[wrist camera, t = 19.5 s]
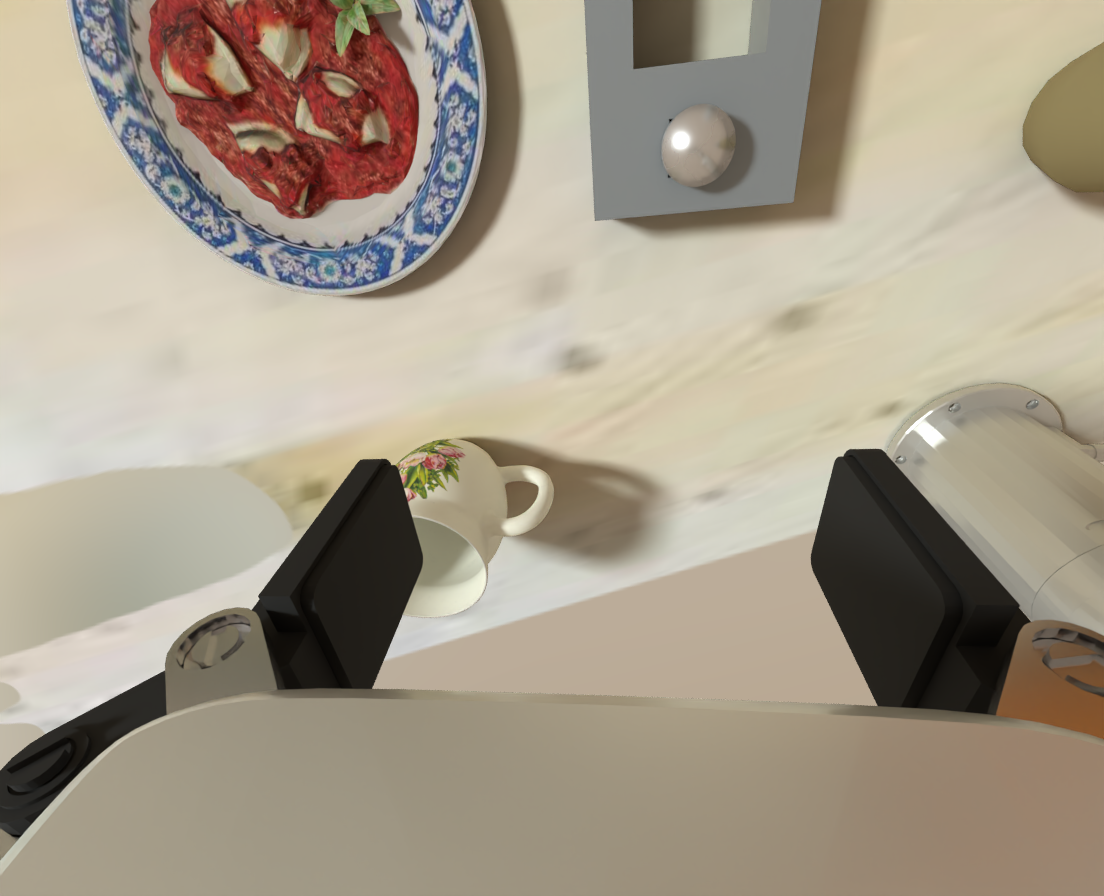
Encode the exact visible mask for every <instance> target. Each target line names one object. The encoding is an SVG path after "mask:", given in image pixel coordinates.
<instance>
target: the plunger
mask: <svg viewBox="0 0 1104 896" xmlns="http://www.w3.org/2000/svg"><path fill="white" fill-rule="evenodd" d="M735 144H736V135H735V129H734V126H733V123H732V121H731V119H730V117H729V116H728V115H727V114H726V113H725V112H724V111H723V110H722V109H720V108H719V107H717V106H714V105H711V104H699V105H694V106H691V107H688V108H686V109H684V110H683V111H681V112H680V113H678V114H677V115H676V116H675V117H674V118H673V119H672V120H671V122H670V123H669V125H668V126H667V128H666V130H665V132H664V135H663V138H662V142H661V160H662V164H663V166H664V169H665V170H666V172H667V174H668V175H669V176H670V177H671V178H672V179H673V180H675V181H676V182H678V183H679V184H682V185H684V186H688V187H699V186H703V185H706V184H709V183H711V182H712V181H714V180H715V179H717V178H718V177H719V176H720V175H721V174H722V173H723V172H724V171H725V169H726V168H727V167H728V165H729V163H730V161H731V159H732V157H733V154H734V150H735Z"/></svg>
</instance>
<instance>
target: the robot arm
mask: <svg viewBox="0 0 1104 896" xmlns="http://www.w3.org/2000/svg"><path fill="white" fill-rule="evenodd" d="M1062 428H1063V426H1062V422H1061V418H1060V415H1059V413H1058V412H1057V410H1056V409H1055V407H1054V405H1052V404H1051V403H1050V402H1049V401H1048V400H1046V399H1045V398H1044V397H1042V396H1041V395H1039V394H1037V393H1035V392H1034V391H1032V390H1030V389H1027V388H1024V387H1021V386H1018V385H1012V384H1004V383H995V384H982V385H977V386H972V387H967V388H964V389H961V390H958V391H955V392H952V393H949V394H947V395H945V396H943V397H941V398H939V399H937V400H935V401H933V402H931V403H930V404H928V405H927V406H925V407H924V408H922V409H921V410H919V411H918V412H917V413H916V414H915V415H913V416H912V417H911V418H910V419H909V420H908V421H907V422H906V423H905V424H904V425H903V426H902V427H901V429H900V430H899V431H898V432H897V433H896V435H895V436H894V438H893V440H892V441H891V443H890V445H889V447H888V450H887V453H885V452H884V451H883V450H881V449H850V450H848V451H846V453H845V454H844V457H838V458H837V459H836V460H835V463H834V466H833V470H832V474H831V478H830V482H829V486H828V490H827V494H826V498H825V501H824V505H823V509H822V513H821V517H820V521H819V525H818V529H817V533H816V537H815V541H814V545H813V549H812V553H811V565H812V569H813V572H814V574H815V576H816V578H817V580H818V582H819V584H820V586H821V589H822V591H823V593H824V595H825V597H826V599H827V601H828V603H829V605H830V607H831V610H832V611H833V614H834V616H835V618H836V620H837V622H838V624H839V626H840V628H841V630H842V632H843V634H844V637H845V639H846V641H847V643H848V645H849V647H850V649H851V651H852V653H853V655H854V657H855V660H856V662H857V664H858V666H859V668H860V670H861V672H862V674H863V676H864V678H865V680H866V682H867V684H868V687H869V689H870V691H871V693H872V695H873V697H874V699H875V701H876V703H877V705H878V706H862V705H845V704H822V703H797V702H770V701H745V700H720V699H694V698H664V697H635V696H607V695H576V694H546V693H545V694H544V693H513V692H477V691H442V690H406V689H405V690H404V689H372V687H373V685H374V682H375V680H376V677H377V675H378V673H379V670H380V668H381V665H382V663H383V661H384V658H385V656H386V654H387V651H388V649H389V646H390V644H391V642H392V639H393V637H394V634H395V632H396V630H397V627H398V625H399V622H400V620H401V618H402V615H403V613H404V610H405V608H406V606H407V603H408V601H409V598H410V596H411V594H412V591H413V589H414V586H415V584H416V582H417V579H418V577H419V574H420V572H421V569H422V566H423V553H422V549H421V546H420V542H419V539H418V535H417V532H416V528H415V525H414V521H413V518H412V514H411V511H410V507H409V504H408V500H407V497H406V493H405V490H404V486H403V483H402V479H401V476H400V472H399V470H398V468H397V466H395V465H391V463H390V462H389V461H388V460H387V459H363V460H360V461H359V462H358V463H357V464H356V466H355V467H354V468H353V470H352V471H351V472H350V474H349V475H348V476H347V478H346V479H345V480H344V482H343V483H342V484H341V486H340V487H339V488H338V490H337V491H336V492H335V494H334V495H333V496H332V498H331V499H330V500H329V502H328V503H327V504H326V506H325V507H324V509H323V510H322V511H321V513H320V514H319V515H318V517H317V518H316V519H315V521H314V522H313V523H312V525H311V526H310V527H309V529H308V530H307V531H306V533H305V534H304V535H303V537H302V538H301V539H300V541H299V542H298V543H297V545H296V546H295V547H294V549H293V550H292V551H291V553H290V554H289V555H288V557H287V558H286V559H285V561H284V562H283V563H282V565H281V566H280V568H279V569H278V570H277V572H276V573H275V574H274V576H273V577H272V578H271V580H270V581H269V582H268V584H267V585H266V586H265V588H264V589H263V590H262V592H261V593H260V594H259V596H258V597H259V599H260V600H259V601H258V602H257V604H256V605H255V606H254V608H253V609H252V610H250V609H248V608H239V607H237V608H230V609H224V610H222V611H219V612H216V613H213V614H210V615H209V616H207V617H205V618H203V619H201V620H199V621H198V622H196V623H195V624H193V625H192V626H191V627H189V628H188V629H187V630H186V631H184V632H183V633H182V634H181V635H180V636H179V638H178V639H177V640H176V641H175V642H174V643H173V645H172V646H171V648H170V650H169V651H168V653H167V657H166V662H165V671H163V672H161V673H159V674H157V675H156V676H154V677H152V678H150V679H148V680H146V681H144V682H142V683H141V684H139V685H137V686H135V687H133V688H131V689H129V690H127V691H125V692H124V693H122V694H120V695H118V696H116V697H114V698H112V699H110V700H109V701H107V702H105V703H103V704H101V705H99V706H97V707H95V708H93V709H92V710H90V711H88V712H86V713H84V714H82V715H80V716H78V717H77V718H75V719H73V720H71V721H69V722H67V723H65V724H63V725H61V726H60V727H58V728H56V729H54V730H52V731H50V732H48V733H47V734H45V735H43V736H42V737H40V738H39V739H37V740H35V741H34V742H32V743H30V744H29V745H28V746H27V747H25V748H24V749H23V750H22V751H20V752H19V753H18V754H17V755H15V756H14V757H13V758H12V759H11V760H10V761H9V762H8V763H7V764H6V765H5V766H4V767H3V768H2V770H1V771H0V896H1104V465H1103V464H1101V463H1100V462H1099V461H1104V443H1103V444H1087V445H1081V444H1080V443H1078V442H1077V441H1075V440H1074V439H1072V438H1071V437H1069V436H1067V435H1066V434H1064V433H1063V432H1062ZM1020 609H1021V610H1022V611H1023V612H1024V613H1025V614H1026V615H1025V614H1024V613H1023V612H1022V611H1021V610H1020ZM1027 617H1028V618H1029V619H1030V620H1031V621H1032V622H1031V621H1030V620H1029V619H1028V618H1027Z"/></svg>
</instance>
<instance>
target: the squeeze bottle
mask: <svg viewBox="0 0 1104 896" xmlns="http://www.w3.org/2000/svg"><path fill="white" fill-rule="evenodd" d="M1023 147H1024V149H1025V151H1026V152H1027V154H1028V156H1029V158H1030V160H1031V161H1032V162H1033V163H1034V164H1036V165H1037V166H1038V167H1039V168H1040V169H1041V170H1042V171H1044V172H1045V173H1046V174H1047V175H1048V176H1049V177H1050V178H1052V179H1053V180H1054V181H1055V182H1057V183H1059V184H1061V185H1063V186H1065V187H1067V188H1069V189H1071V190H1073V191H1075V192H1104V42H1103V43H1101V44H1100V45H1098V46H1097V47H1095V48H1093V49H1092V50H1090V51H1088V52H1087V53H1085V54H1083V55H1082V56H1080V57H1079V58H1077V59H1075V60H1074V61H1072V62H1071V63H1069V64H1068V65H1067V66H1066V67H1064V68H1063V69H1062V70H1061V71H1059V72H1058V73H1057V74H1056V75H1055V76H1053V77H1052V78H1051V79H1050V80H1048V82H1047V83H1046V84H1045V86H1044V87H1043V88H1042V90H1041V91H1040V92H1039V94H1038V95H1037V96H1036V98H1035V99H1034V100H1033V102H1032V104H1031V106H1030V109H1029V111H1028V114H1027V117H1026V119H1025V122H1024V124H1023Z"/></svg>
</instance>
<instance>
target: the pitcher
mask: <svg viewBox="0 0 1104 896" xmlns="http://www.w3.org/2000/svg"><path fill="white" fill-rule="evenodd" d="M395 466H397V468H398V470H399V472H400V476H401V479H402V483H403V486H404V490H405V493H406V497H407V500H408V504H409V507H410V511H411V514H412V518H413V521H414V525H415V528H416V532H417V535H418V539H419V542H420V546H421V549H422V553H423V566H422V569H421V572H420V574H419V577H418V579H417V582H416V584H415V586H414V589H413V591H412V594H411V596H410V598H409V601H408V603H407V606H406V608H405V610H404V613H403V615H405V616H411V617H420V618H436V617H445V616H450V615H454V614H457V613H460V612H462V611H464V610H466V609H468V608H470V607H471V606H473V605H474V604H475V603H476V602H477V601H478V600H479V599H480V598H481V596H482V595H483V593H484V591H485V589H486V585H487V578H488V563H489V562H490V561H491V559H492V558H493V556H494V555H495V553H496V551H497V549H498V547H499V545H500V543H501V540H502V538H503V536H508V537H509V536H517V535H521V534H524V533H526V532H528V531H530V530H532V529H533V528H535V527H536V526H537V525H538V524H540V523H541V522H542V520H543V519H544V518H545V517H546V515H547V513H548V512H549V510H550V507H551V505H552V502H553V497H554V487H553V483H552V481H551V479H550V477H549V475H548V474H547V473H546V472H544V471H543V470H541V469H539V468H536V467H532V466H527V465H516V466H506V467H498V466H496V464H495V462H494V461H493V460H492V458H491V457H490V456H489V454H488V453H487V452H485V451H484V450H483V449H481V448H480V447H478V446H477V445H475V444H473V443H471V442H468V441H464V440H459V439H442V440H437V441H433V442H430V443H427V444H425V445H423V446H421V447H419V448H417V449H415V450H414V451H412V452H411V453H409V454H408V455H407V456H405V457H404V458H403V459H401V460H400V461H399V462H398V463H397V464H396V465H395ZM514 481H525V482H530V483H533V484H535V485H537V486H538V487H539V492H538V496H537V499H536V500H535V502H534V503H533V505H532V506H531V507H530V508H529V509H528V510H527V511H526V512H524V513H522V514H521V515H519V516H516V517H513V518H507V496H506V489H505V484H506V483H508V482H514Z"/></svg>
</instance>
